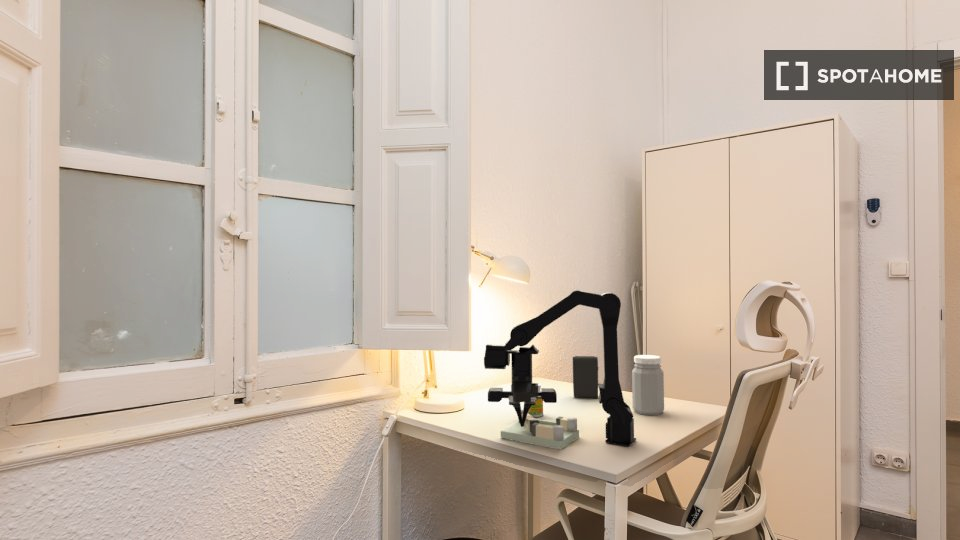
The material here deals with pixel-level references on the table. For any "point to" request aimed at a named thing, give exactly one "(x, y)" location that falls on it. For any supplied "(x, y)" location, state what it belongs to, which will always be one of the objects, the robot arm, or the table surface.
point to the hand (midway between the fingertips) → (522, 426)
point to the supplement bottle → (537, 406)
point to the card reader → (585, 376)
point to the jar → (648, 385)
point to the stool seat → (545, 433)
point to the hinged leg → (529, 421)
